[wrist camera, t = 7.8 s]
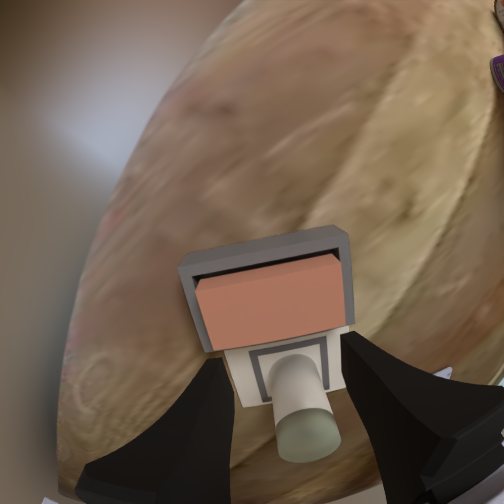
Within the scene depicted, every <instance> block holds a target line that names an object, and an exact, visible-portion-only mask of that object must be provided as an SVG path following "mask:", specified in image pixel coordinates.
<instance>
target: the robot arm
mask: <svg viewBox="0 0 504 504" xmlns="http://www.w3.org/2000/svg"><path fill="white" fill-rule="evenodd" d="M340 348H341V373H342V376H343V379H344V382H345V385H346V388H347V391H348V393H349V395H350V397H351V399H352V401H353V403H354V406H355V408H356V410H357V412H358V414H359V416H360V418H361V420H362V422H363V424H364V426H365V428H366V430H367V433H368V435H369V438H370V441H371V444H372V447H373V450H374V453H375V456H376V460H377V463H378V467H379V470H380V474H381V478H382V482H383V486H384V491H385V495H386V500H387V504H504V437H503V436H502V434H501V432H502V430H503V429H504V387H503V386H494V385H477V384H470V383H464V382H459V381H454V380H450V375H451V372H452V368H451V367H447V368H445V369H443V370H441V371H439V372H437V373H435V374H430V373H427V372H425V371H422V370H420V369H418V368H415V367H413V366H411V365H409V364H407V363H405V362H403V361H401V360H399V359H397V358H395V357H394V356H392V355H390V354H388V353H387V352H385V351H384V350H382V349H380V348H379V347H377V346H376V345H374V344H373V343H371V342H370V341H369V340H367V339H366V338H364V337H363V336H361V335H360V334H358V333H357V332H355V331H351V332H347V333H344V334H340ZM234 414H235V409H234V391H233V388H232V385H231V383H230V380H229V377H228V374H227V371H226V368H225V365H224V362H223V359H222V357H220V358H212V359H207V360H206V361H205V363H204V364H203V366H202V367H201V368H200V370H199V371H198V373H197V374H196V376H195V377H194V378H193V380H192V381H191V383H190V384H189V385H188V386H187V388H186V389H185V390H184V392H183V393H182V394H181V396H180V397H179V398H178V399H177V400H176V401H175V403H174V404H173V405H172V406H171V407H170V408H169V410H168V411H167V412H166V413H165V414H164V415H163V416H162V417H161V418H159V419H158V420H157V421H156V422H155V423H154V424H153V425H152V426H151V427H149V428H148V429H147V430H145V431H144V432H143V433H141V434H140V435H139V436H137V437H136V438H135V439H133V440H132V441H130V442H129V443H127V444H126V445H124V446H123V447H121V448H119V449H117V450H116V451H114V452H112V453H110V454H108V455H106V456H104V457H101V458H99V459H97V460H95V461H92V462H90V463H87V464H86V465H85V467H84V469H83V471H82V473H81V476H80V478H79V480H78V483H77V485H76V487H75V493H76V495H77V496H78V497H79V498H80V499H81V500H82V501H83V502H85V503H86V504H231V498H230V468H229V464H230V451H231V442H232V433H233V424H234ZM42 504H60V503H58V502H56V501H54V500H52V499H50V498H48V497H45V498H44V500H43V502H42Z"/></svg>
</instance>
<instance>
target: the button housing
mask: <svg viewBox="0 0 504 504" xmlns="http://www.w3.org/2000/svg"><path fill="white" fill-rule="evenodd" d="M327 254H333V255H334V256H335V257H336V258H337V259H338V260H339V261H340V262H341V268H342V279H343V291H344V305H345V323H346V325H344V326H348V325H352V324H355V317H354V294H353V279H352V266H351V255H350V244H349V235H348V233H347V232H345V231H343V230H342V229H340V228H338V227H337V226H335V225H329V226H323V227H318V228H313V229H308V230H303V231H298V232H292V233H287V234H282V235H277V236H272V237H267V238H262V239H257V240H252V241H247V242H242V243H237V244H232V245H227V246H222V247H217V248H212V249H208V250H203V251H198V252H193V253H188V254H187V255H186V257H185V258H184V259H183V261H182V262H181V263H180V264H179V266H178V267H177V268H178V272H179V275H180V278H181V282H182V285H183V288H184V292H185V295H186V298H187V301H188V304H189V308H190V311H191V314H192V317H193V320H194V323H195V326H196V329H197V332H198V335H199V337H200V340H201V343H202V346H203V349H204V352H205V353H207V352H215V351H214V350H213V347H212V344H211V341H210V338H209V335H208V332H207V329H206V325H205V322H204V319H203V316H202V313H201V310H200V306H199V303H198V300H197V297H196V293H195V290H196V288H197V286H198V284H199V281H200V279H206V278H211V277H216V276H222V275H227V274H232V273H237V272H242V271H248V270H253V269H258V268H263V267H268V266H273V265H278V264H283V263H288V262H293V261H298V260H303V259H308V258H313V257H317V256H322V255H327ZM344 326H340V327H344ZM340 327H336V328H340ZM336 328H332V329H336ZM332 329H328V330H332ZM328 330H324V331H328ZM324 331H320V332H324ZM315 333H319V332H315ZM315 333H311V334H315ZM311 334H306V335H311ZM306 335H302V336H306ZM297 337H301V336H297ZM297 337H292V338H297ZM292 338H287V339H292ZM287 339H282V340H287ZM282 340H277V341H282ZM277 341H272V342H277ZM266 343H271V342H266ZM266 343H261V344H266ZM255 345H260V344H255ZM255 345H249V346H255ZM249 346H243V347H249ZM236 348H242V347H236ZM236 348H230V349H236ZM223 350H229V349H223ZM216 351H222V350H216Z"/></svg>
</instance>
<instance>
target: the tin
mask: <svg viewBox="0 0 504 504" xmlns="http://www.w3.org/2000/svg"><path fill="white" fill-rule="evenodd" d="M494 9H495V14H496V18H497V20H498V22H499V24H500V26H501V28H502V30H503V32H504V0H495V2H494Z"/></svg>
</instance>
